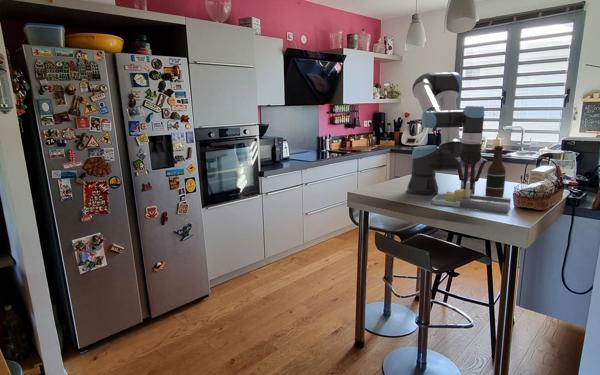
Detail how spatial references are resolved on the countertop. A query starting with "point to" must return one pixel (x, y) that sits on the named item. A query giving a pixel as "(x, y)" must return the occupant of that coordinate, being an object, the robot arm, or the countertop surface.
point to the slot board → (486, 203)
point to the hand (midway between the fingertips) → (467, 196)
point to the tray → (441, 201)
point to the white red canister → (468, 178)
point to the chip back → (450, 197)
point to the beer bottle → (496, 175)
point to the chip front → (460, 194)
